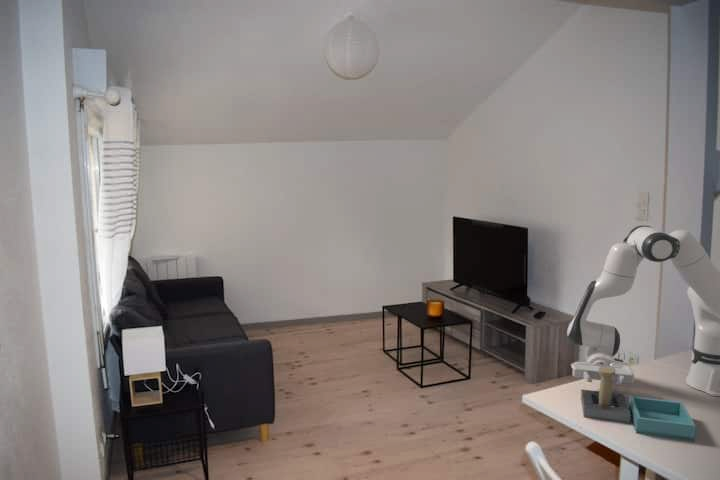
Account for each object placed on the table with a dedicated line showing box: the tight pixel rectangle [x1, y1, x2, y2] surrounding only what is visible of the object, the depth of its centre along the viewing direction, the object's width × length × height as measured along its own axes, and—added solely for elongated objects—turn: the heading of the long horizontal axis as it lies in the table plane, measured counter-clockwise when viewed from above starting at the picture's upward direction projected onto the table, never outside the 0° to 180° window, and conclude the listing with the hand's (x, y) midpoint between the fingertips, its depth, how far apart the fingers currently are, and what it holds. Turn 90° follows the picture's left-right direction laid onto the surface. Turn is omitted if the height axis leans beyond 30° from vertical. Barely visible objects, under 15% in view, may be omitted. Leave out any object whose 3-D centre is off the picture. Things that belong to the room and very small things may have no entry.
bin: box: [628, 395, 696, 442], centre depth 174 cm, size 16×16×5 cm
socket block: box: [580, 388, 631, 424], centre depth 184 cm, size 14×14×4 cm
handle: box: [598, 366, 615, 406], centre depth 183 cm, size 5×6×15 cm
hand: (604, 381), depth 185 cm, fingers open, 8 cm apart
